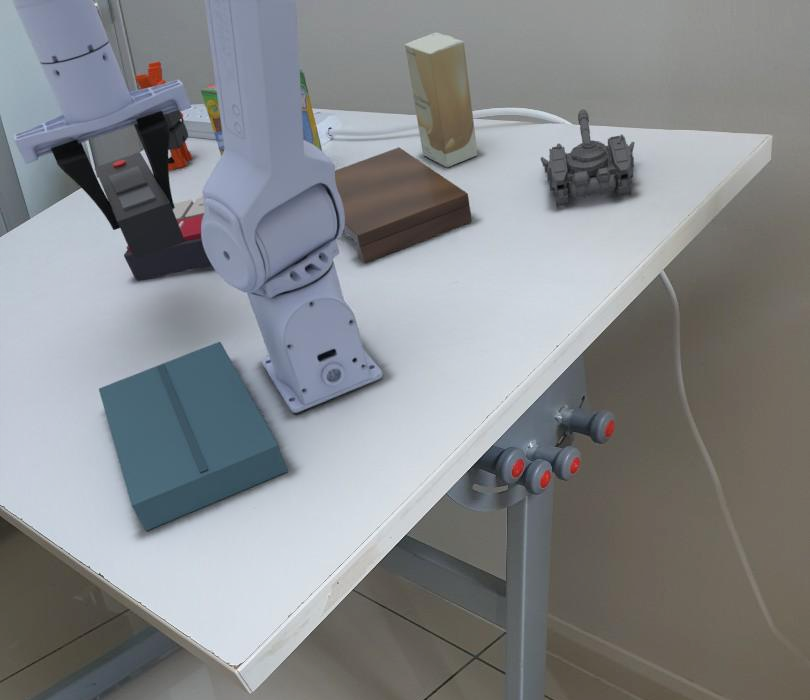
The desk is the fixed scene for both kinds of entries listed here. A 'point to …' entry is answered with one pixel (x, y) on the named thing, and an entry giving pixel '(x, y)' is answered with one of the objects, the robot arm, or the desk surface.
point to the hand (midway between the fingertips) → (143, 215)
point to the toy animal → (169, 120)
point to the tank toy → (590, 166)
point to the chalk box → (307, 114)
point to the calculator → (176, 246)
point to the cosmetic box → (442, 98)
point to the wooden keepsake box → (397, 203)
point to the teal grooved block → (188, 435)
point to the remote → (139, 206)
